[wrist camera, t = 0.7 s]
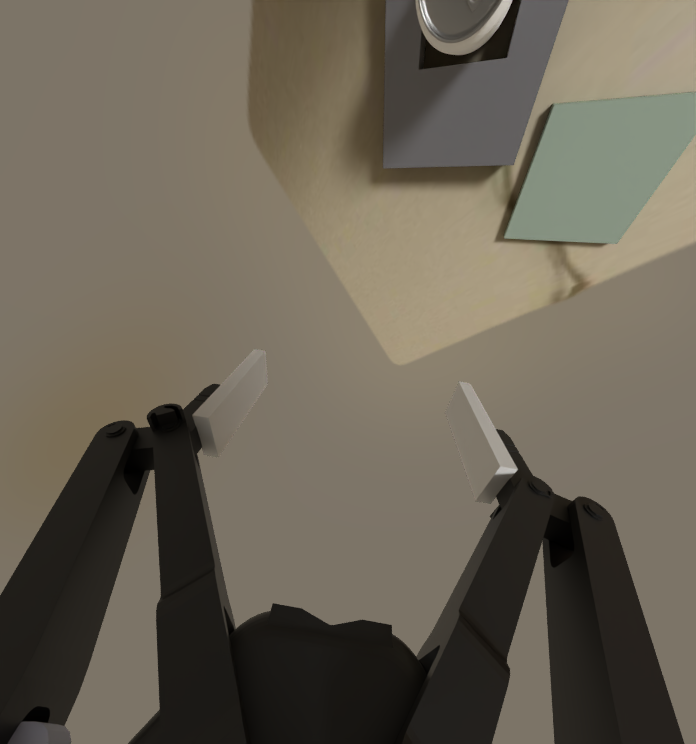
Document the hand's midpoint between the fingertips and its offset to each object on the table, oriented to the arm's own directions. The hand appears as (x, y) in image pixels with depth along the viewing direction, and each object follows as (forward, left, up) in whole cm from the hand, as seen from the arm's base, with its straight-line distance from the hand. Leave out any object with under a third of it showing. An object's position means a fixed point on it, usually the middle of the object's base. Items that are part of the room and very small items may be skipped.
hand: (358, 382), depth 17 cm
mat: (-4, +17, -30) cm, 35 cm away
